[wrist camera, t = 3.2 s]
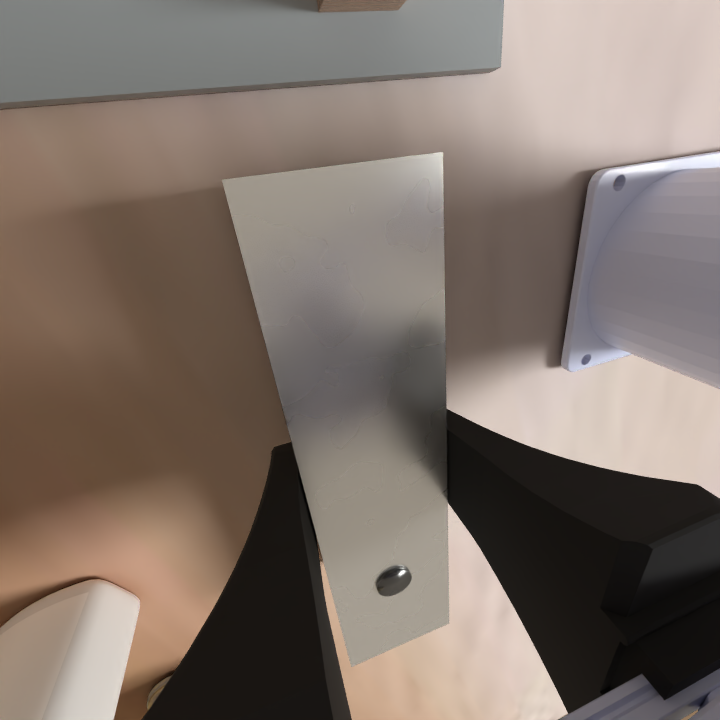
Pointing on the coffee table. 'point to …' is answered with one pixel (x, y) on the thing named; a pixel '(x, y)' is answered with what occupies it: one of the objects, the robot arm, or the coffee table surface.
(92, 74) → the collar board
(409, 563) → the silver long block
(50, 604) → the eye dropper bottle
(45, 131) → the coffee table surface
